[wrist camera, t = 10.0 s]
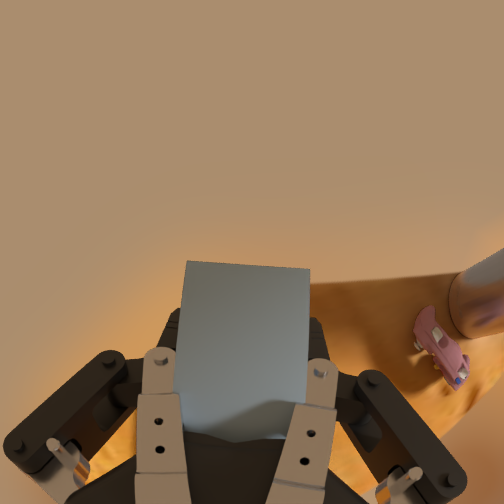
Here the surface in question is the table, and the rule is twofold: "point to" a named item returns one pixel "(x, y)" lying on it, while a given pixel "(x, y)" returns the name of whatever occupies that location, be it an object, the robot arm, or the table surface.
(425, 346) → the pink curved toy
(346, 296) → the table surface
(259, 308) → the block
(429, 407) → the table surface
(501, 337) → the table surface
